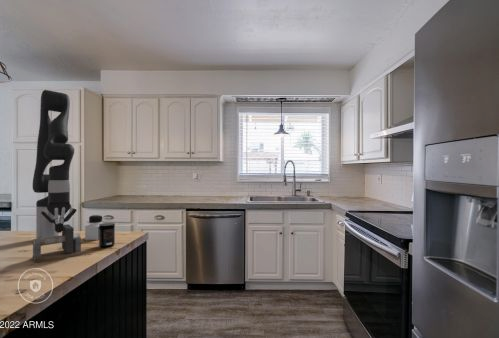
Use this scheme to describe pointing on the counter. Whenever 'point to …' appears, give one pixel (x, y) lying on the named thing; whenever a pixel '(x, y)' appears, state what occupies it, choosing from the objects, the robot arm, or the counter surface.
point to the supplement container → (106, 235)
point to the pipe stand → (57, 254)
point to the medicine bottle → (93, 227)
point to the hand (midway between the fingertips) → (58, 232)
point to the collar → (68, 238)
